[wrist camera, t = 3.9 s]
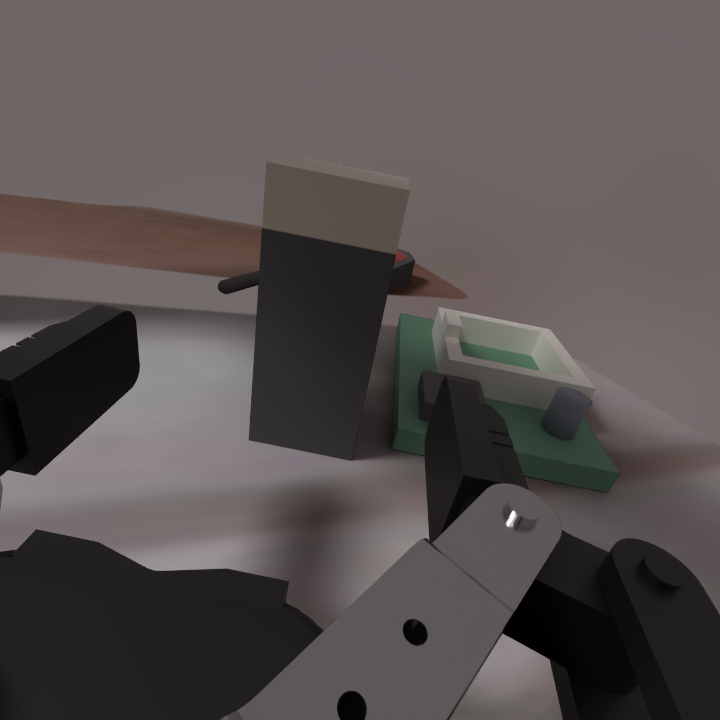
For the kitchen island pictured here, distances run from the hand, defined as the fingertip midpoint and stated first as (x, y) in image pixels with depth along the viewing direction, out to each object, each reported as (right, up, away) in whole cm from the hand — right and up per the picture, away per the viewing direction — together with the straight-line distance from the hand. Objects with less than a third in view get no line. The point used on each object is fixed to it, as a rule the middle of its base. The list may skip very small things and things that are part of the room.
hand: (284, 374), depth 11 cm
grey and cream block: (0, -2, +9) cm, 9 cm away
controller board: (+9, -1, +14) cm, 17 cm away
